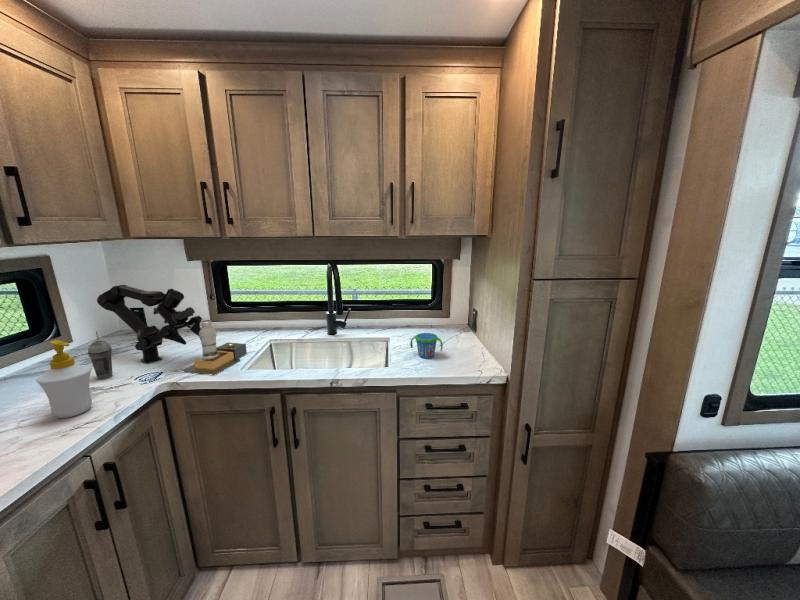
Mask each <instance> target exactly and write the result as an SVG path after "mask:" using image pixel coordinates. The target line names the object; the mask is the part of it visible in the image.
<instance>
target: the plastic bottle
mask: <svg viewBox="0 0 800 600" xmlns="http://www.w3.org/2000/svg"><path fill="white" fill-rule="evenodd" d="M212 325H213V323H212V320H211V319H205V320H202V321H201V323H200V331H199V336H198V337H199V340H200V344H201V348H202V359H201V360H203V361H214V360H216V359H218V358H220V357H219V354H218V351H217V347H218V346H217V331H216V329H215V328H214V327H213V326H212Z"/></svg>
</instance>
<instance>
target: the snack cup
mask: <svg viewBox="0 0 800 600" xmlns="http://www.w3.org/2000/svg"><path fill="white" fill-rule="evenodd" d="M414 339H415V343H416V347H417V354H418V357H420V358H421V359H432V358H433V357H434V356H435V351H436V345H437V341H438V342H439V343H440V352H442V351H443V347H444V346H443V345H444V344H443V341H442V339H441V338H440V337H438V335H437V334H435V333H431V332H421V333H418V334H416V335H414V336H413V337H411V340H410V342H409V343H410V345H409V346H410V348H411V349H412V348H414V345H413V340H414Z"/></svg>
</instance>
